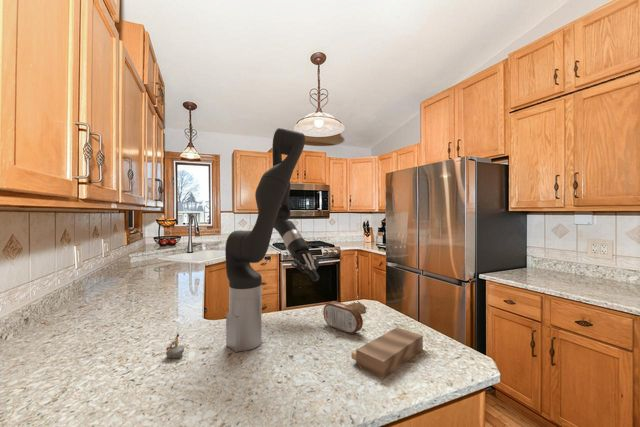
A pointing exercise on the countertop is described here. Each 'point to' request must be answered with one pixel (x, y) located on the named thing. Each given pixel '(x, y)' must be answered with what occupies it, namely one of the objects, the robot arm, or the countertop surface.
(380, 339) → the walnut plank
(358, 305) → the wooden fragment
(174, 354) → the figurine
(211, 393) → the countertop surface
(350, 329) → the tin
